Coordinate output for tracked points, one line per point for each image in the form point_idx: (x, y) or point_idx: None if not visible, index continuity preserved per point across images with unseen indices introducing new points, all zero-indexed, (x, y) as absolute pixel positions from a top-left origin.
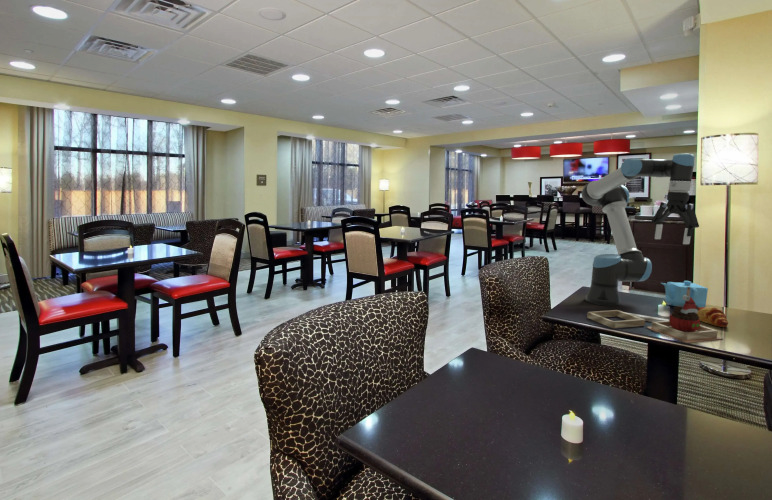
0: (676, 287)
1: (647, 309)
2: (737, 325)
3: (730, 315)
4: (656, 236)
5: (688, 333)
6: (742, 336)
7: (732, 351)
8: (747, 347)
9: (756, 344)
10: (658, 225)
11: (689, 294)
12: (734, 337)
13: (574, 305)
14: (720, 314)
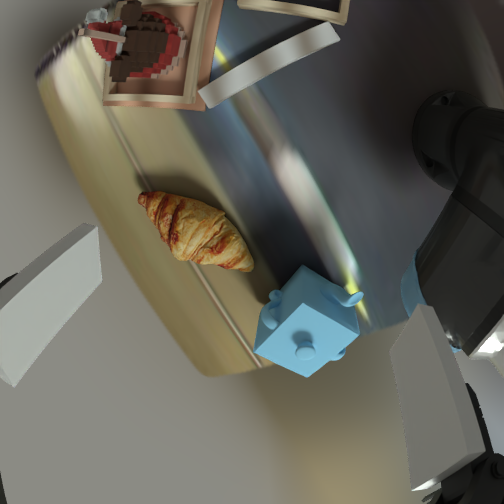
0: (317, 306)
1: (346, 184)
2: (160, 253)
3: (217, 322)
4: (425, 326)
5: (115, 10)
6: (106, 173)
7: (65, 56)
8: (67, 108)
9: (72, 146)
10: (457, 448)
11: (94, 37)
12: (105, 147)
13: (460, 27)
14: (160, 223)
